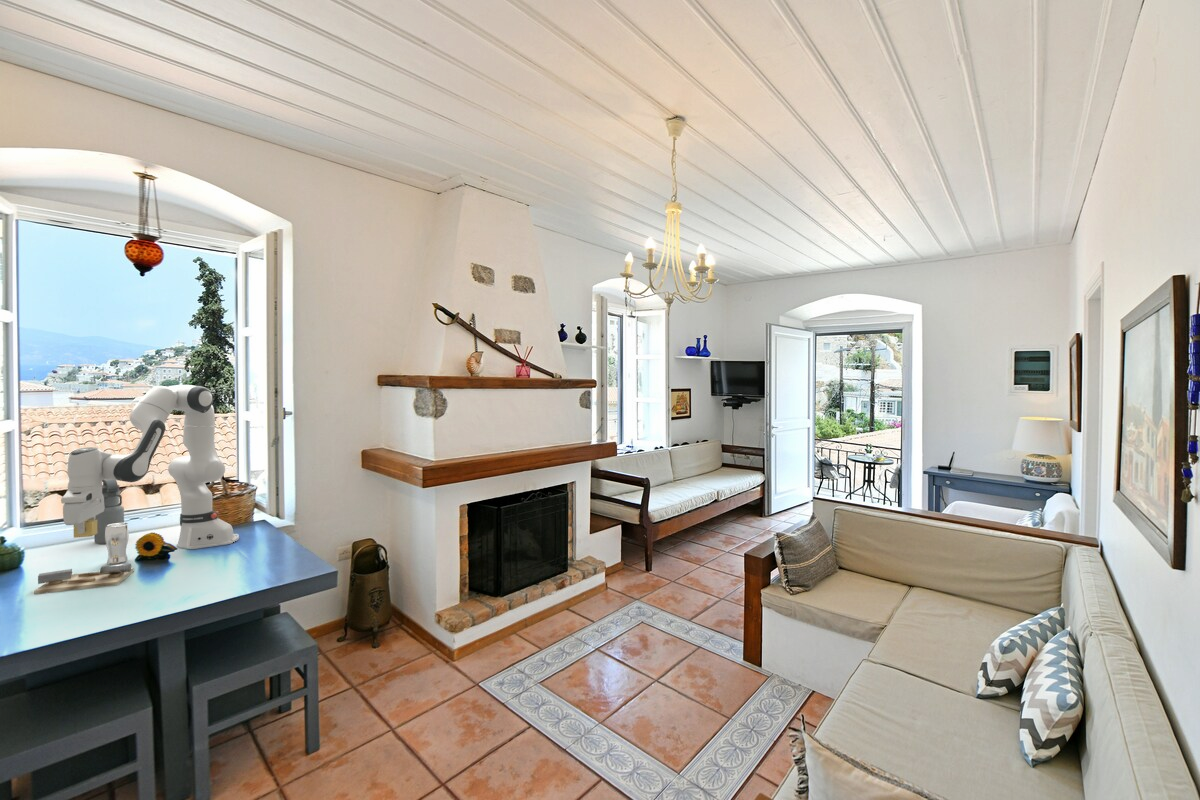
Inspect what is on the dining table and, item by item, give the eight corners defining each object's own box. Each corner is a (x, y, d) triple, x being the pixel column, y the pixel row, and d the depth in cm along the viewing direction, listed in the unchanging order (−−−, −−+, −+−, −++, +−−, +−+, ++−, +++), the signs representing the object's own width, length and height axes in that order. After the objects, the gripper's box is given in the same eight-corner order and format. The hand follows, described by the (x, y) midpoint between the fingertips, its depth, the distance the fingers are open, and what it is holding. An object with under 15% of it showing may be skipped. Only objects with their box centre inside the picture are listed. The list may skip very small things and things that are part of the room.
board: (133, 571, 199) (133, 565, 199) (117, 585, 186) (117, 578, 186) (56, 579, 190) (56, 573, 190) (34, 594, 177) (34, 587, 177)
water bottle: (128, 540, 234) (127, 479, 233) (98, 546, 226) (97, 482, 225) (120, 536, 240) (119, 476, 239) (91, 541, 231) (90, 479, 230)
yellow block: (73, 537, 184) (73, 523, 184) (79, 534, 188) (79, 520, 188) (92, 536, 186) (91, 522, 186) (97, 533, 190) (97, 519, 190)
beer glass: (102, 562, 207) (101, 525, 206) (124, 557, 213) (124, 521, 213) (109, 566, 204) (109, 528, 203) (132, 560, 210) (131, 524, 209)
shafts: (131, 570, 194) (131, 562, 194) (125, 575, 190) (125, 566, 190) (43, 579, 184) (43, 570, 184) (35, 584, 180) (35, 575, 180)
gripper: (88, 487, 195) (88, 524, 195) (58, 499, 176) (58, 539, 177) (109, 486, 197) (110, 522, 198) (82, 498, 179) (83, 538, 179)
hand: (85, 531), depth 187 cm, fingers closed on yellow block, 4 cm apart
